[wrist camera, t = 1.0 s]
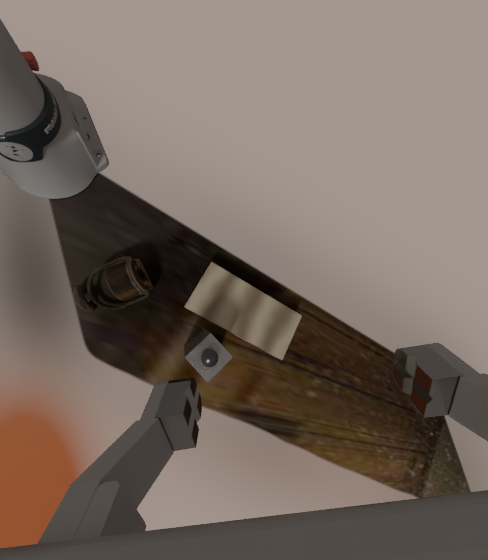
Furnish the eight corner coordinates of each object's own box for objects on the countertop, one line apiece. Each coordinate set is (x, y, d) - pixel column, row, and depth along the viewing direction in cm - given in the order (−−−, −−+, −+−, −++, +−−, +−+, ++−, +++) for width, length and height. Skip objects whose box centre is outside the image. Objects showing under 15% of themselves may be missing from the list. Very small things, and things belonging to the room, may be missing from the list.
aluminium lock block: (183, 346, 44) (184, 358, 31) (203, 328, 45) (211, 333, 33) (201, 365, 44) (208, 384, 32) (219, 346, 46) (234, 358, 33)
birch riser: (184, 307, 45) (184, 306, 42) (209, 265, 48) (211, 261, 44) (275, 357, 48) (282, 360, 45) (294, 315, 51) (301, 315, 48)
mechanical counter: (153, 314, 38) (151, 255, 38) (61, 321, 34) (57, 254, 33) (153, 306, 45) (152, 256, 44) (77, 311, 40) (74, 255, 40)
